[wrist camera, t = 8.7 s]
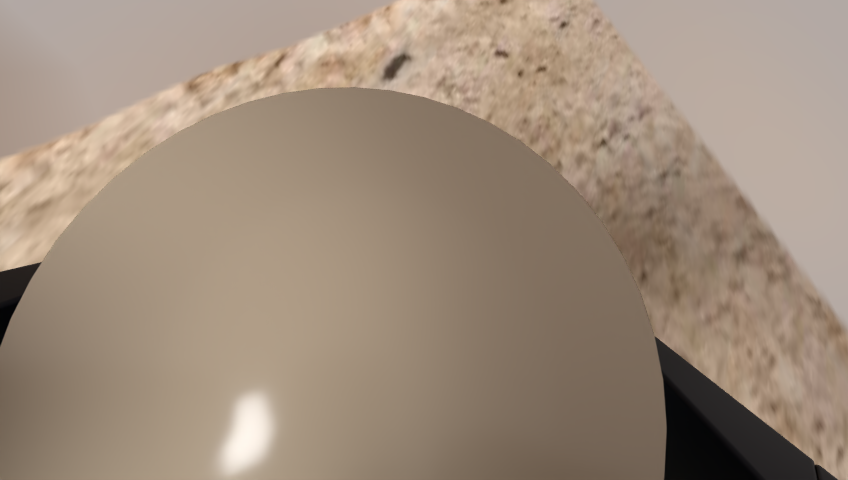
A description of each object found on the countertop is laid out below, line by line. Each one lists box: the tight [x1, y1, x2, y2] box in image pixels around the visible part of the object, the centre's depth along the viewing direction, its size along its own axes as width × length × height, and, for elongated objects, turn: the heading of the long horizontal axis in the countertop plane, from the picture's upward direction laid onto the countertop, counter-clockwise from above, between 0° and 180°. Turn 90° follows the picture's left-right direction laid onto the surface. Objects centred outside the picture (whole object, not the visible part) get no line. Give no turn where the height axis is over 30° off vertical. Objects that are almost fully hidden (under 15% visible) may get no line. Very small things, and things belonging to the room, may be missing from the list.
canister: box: [0, 87, 667, 480], centre depth 10 cm, size 6×6×12 cm
